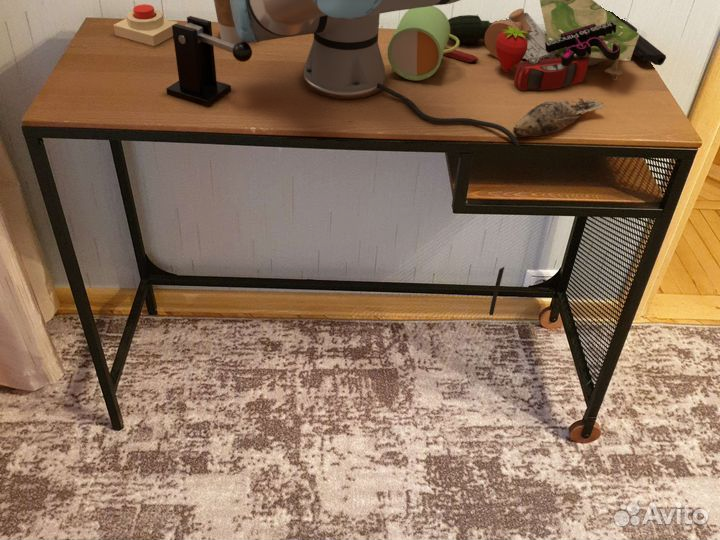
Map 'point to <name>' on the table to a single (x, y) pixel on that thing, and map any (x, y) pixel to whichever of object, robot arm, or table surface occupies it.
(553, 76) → the toy car
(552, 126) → the bird model
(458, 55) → the utility knife
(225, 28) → the coffee cup
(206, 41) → the press lever
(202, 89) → the lever bracket
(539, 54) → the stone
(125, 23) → the button housing
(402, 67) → the mug
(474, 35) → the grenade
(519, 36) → the strawberry
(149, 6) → the stop button
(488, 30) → the door knob
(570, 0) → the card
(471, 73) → the table surface
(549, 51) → the logo
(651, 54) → the handgun
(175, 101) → the table surface
